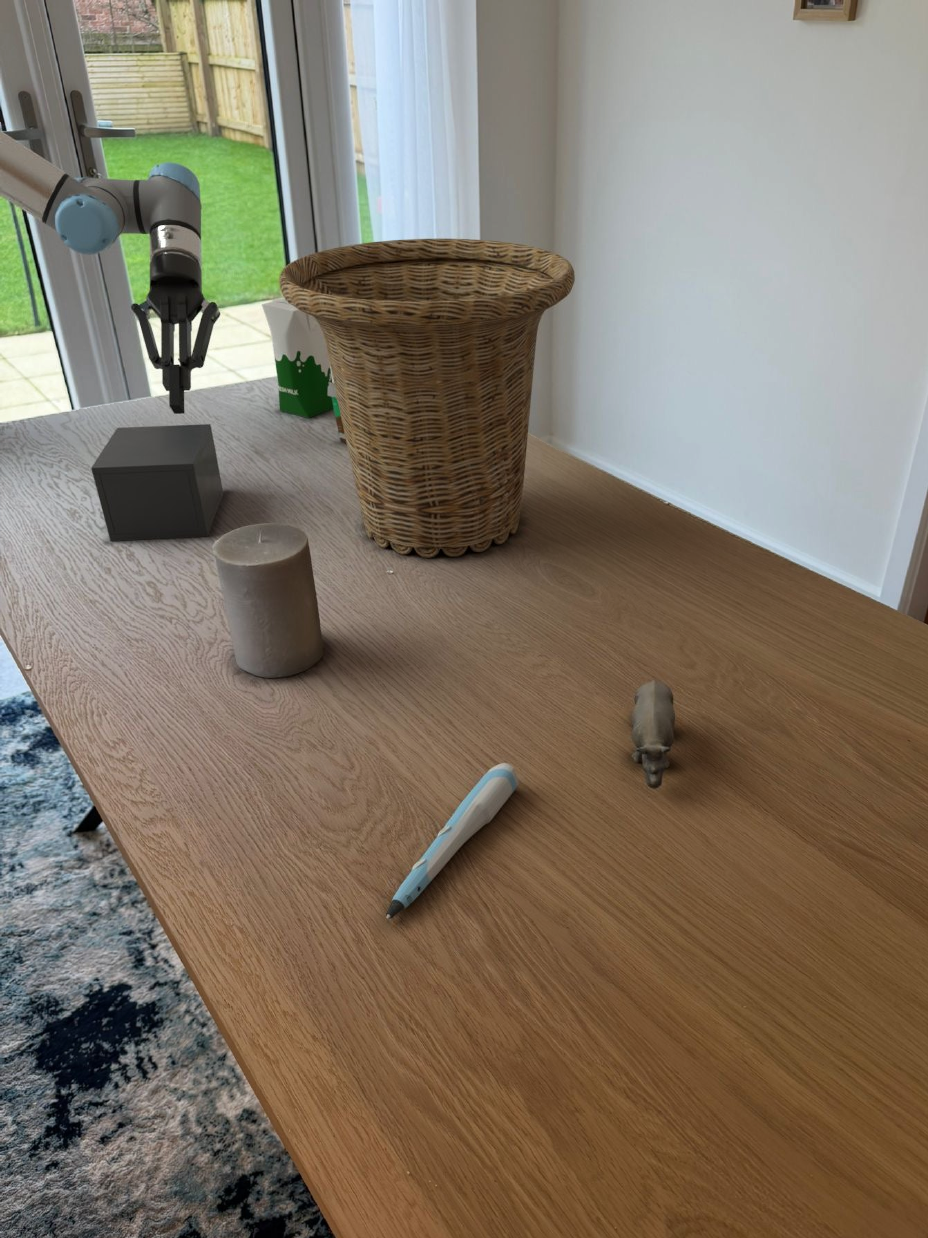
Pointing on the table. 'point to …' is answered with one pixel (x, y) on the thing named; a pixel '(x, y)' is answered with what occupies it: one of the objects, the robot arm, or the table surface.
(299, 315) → the milk carton
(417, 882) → the pen
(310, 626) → the pillar candle
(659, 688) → the rhino figurine
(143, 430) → the dark gray box
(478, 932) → the table surface
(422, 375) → the wicker basket
